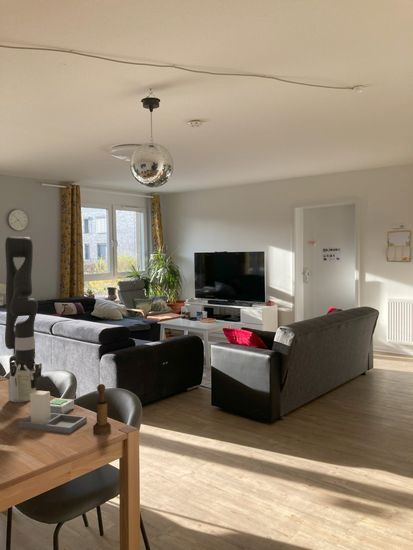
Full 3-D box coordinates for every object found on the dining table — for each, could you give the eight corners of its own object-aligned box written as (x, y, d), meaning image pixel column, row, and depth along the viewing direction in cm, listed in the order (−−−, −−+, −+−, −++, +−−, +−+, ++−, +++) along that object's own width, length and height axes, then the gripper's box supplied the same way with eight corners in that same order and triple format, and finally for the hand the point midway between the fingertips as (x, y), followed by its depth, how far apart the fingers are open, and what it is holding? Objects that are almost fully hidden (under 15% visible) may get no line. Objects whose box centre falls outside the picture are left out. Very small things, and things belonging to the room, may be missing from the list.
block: (31, 424, 176) (30, 393, 175) (37, 420, 180) (36, 390, 179) (44, 425, 174) (43, 394, 173) (50, 421, 178) (49, 391, 177)
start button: (49, 410, 189) (49, 403, 189) (57, 406, 194) (56, 399, 194) (60, 411, 188) (60, 404, 187) (67, 407, 192) (67, 400, 192)
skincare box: (36, 397, 189) (35, 368, 188) (31, 400, 184) (30, 371, 183) (21, 396, 189) (21, 367, 188) (16, 400, 185) (15, 370, 184)
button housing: (42, 416, 188) (42, 404, 187) (55, 409, 196) (55, 398, 196) (61, 418, 185) (61, 406, 185) (74, 411, 194) (73, 399, 194)
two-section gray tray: (18, 431, 173) (17, 422, 173) (38, 419, 184) (37, 411, 184) (69, 437, 166) (69, 428, 166) (87, 425, 178) (86, 416, 178)
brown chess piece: (114, 431, 172) (113, 384, 171) (99, 436, 167) (98, 388, 166) (104, 426, 176) (103, 381, 175) (89, 431, 172) (88, 384, 171)
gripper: (46, 346, 187) (46, 386, 188) (16, 344, 191) (17, 383, 192) (34, 350, 180) (35, 391, 181) (3, 348, 184) (5, 388, 185)
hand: (26, 387), depth 186 cm, fingers closed on skincare box, 6 cm apart
